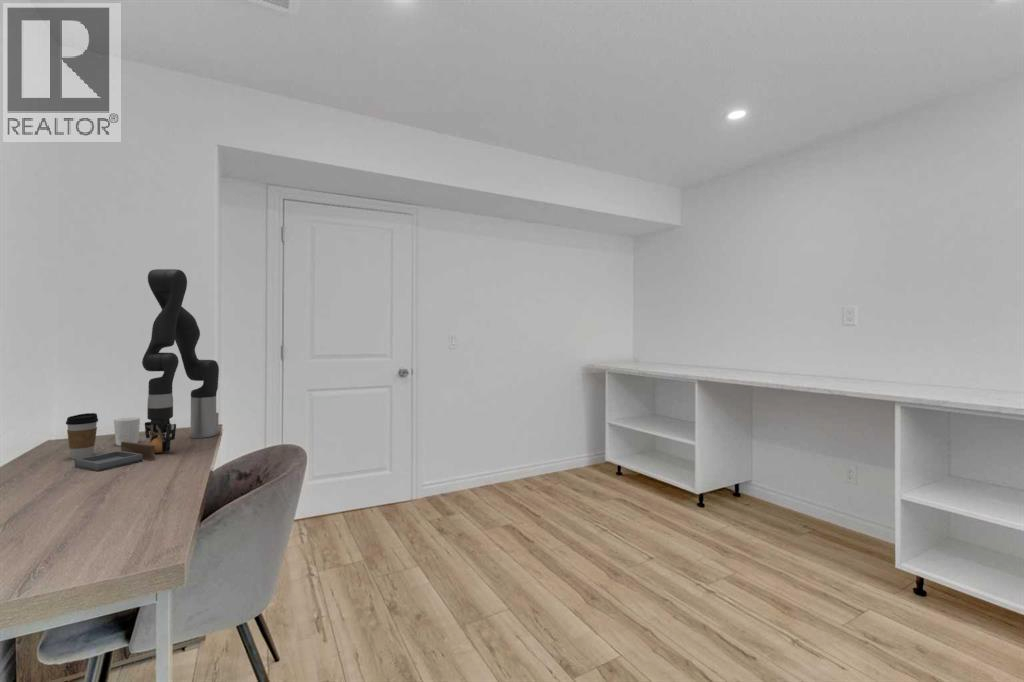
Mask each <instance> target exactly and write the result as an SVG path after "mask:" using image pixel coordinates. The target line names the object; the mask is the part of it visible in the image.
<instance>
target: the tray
mask: <svg viewBox="0 0 1024 682" xmlns="http://www.w3.org/2000/svg"><path fill="white" fill-rule="evenodd" d="M142 456H143V454H139V453H132V452H126V451H121V450H115V451H111V452H105V453H99V454H96V455H95V454H94V455H93V456H90V457H85V458H80V459H74V468H78V469H84V470H89V471H94V472H102V471H106V470H107V471H108V470H111V469H115V468H119V467H122V466H127V465H128V466H129V465H132V464H136V463H140V462H143V459H142Z"/></svg>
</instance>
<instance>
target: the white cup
mask: <svg viewBox="0 0 1024 682" xmlns="http://www.w3.org/2000/svg"><path fill="white" fill-rule="evenodd" d="M113 422H114V425H113V426H114V438H115V445H116V446H120V447H121V442H124V441H126V442H133V443H139V435H140V425H141V423H140V422H141V417H138V416H137V417H136V416H134V417H133V416H132V417H120V418H119V417H118V418H115V419H114V420H113Z"/></svg>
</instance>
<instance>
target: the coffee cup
mask: <svg viewBox="0 0 1024 682" xmlns="http://www.w3.org/2000/svg"><path fill="white" fill-rule="evenodd" d="M98 422H99V418H98V414H97V413H96V412H95V413H94V412H91V413H90V412H87V413H79V414H76V415H71V416H68V417H67V419H66V421H65V424H66V426H67V430H66V432H67V440H68V441H67V442H68V447H69V448H68V449H69V455H70V459H72V460H75V459H80V458H85V457H90V456H95V453H94V452H95V446H96V445H95V444H96V438H97V437H96V436H97V432H98V431H97V430H98V429H97V428H98V427H97V423H98Z"/></svg>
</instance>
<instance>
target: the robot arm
mask: <svg viewBox="0 0 1024 682" xmlns="http://www.w3.org/2000/svg"><path fill="white" fill-rule="evenodd" d="M147 283H148V286H149V288H150V290H151V292H152V294H153V296H154V298H155V299H156V301H157V303H158V305H159V306H160V308H161V311H160V312H159V313H158V314H157V316H156V318H155V319H154V321H153V323H152V329H151V338H150V342H149V344H148V347H147V348H146V351H145V353H144V354H143V357H142V359H141V360H142V361H141V364H142V367H143V369H144V370H145V371H147V372H163V374H162V375H161V376H158V377H153V378H150V380H149V381H148V390H147V391H148V393H147V394H148V395H147V413H146V415H147V417H146V418H147V420H149V421H146V422H144V431H145V433H144V434H145V439H148V440H149V441H150V443H151V442H152V440H153V439H155V438H157V437H161V438H162V441H163V442H162V451H163V452H162V453H166V452H169V451H171V441H174V440H175V439H176V431H177V424H176V423H173V424H172V423H171V420H170V419H172V418H173V417H174V396H173V382H174V379H175V374H176V371H177V369H178V367H179V363H180V362H179V357H178V355H177V354H175V353H174V352H161V350H162V349H164V348H169V347H173V346H174V344H175V343H176V345H177V349H178V351H179V352H178V353H180V357H181V361H182V365H183V368H184V371H185V374H186V377H187V378H188V379H189V380H190V381H194V382H195V381H196V382H197V381H198V382H202V385H201V386H200V387H198V388H195V389H192V390H191V391H190V433H189V435H190V438H193V439H194V438H195V439H201V438H209V437H213V436H214V437H215V436H217V435H218V434H219V417H220V416H219V412H217V392H218V388H219V375H220V368H219V364H218V362H217V361H216V360H213V359H199V358H198V356H197V354H196V346H197V344H198V341H199V339H200V336H201V331H200V327H199V325H198V322H197V319H195V316H193V314H191V312H189V311H188V310H186V308H184V307H183V301H184V298H185V296H186V295H185V294H186V291H187V287H188V278H187V275H186V273H185V272H184V271H183V270H181V269H175V268H174V269H173V268H171V269H170V268H156V269H151V270H150V271H149V272H148V274H147ZM165 437H166V438H165Z"/></svg>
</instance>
